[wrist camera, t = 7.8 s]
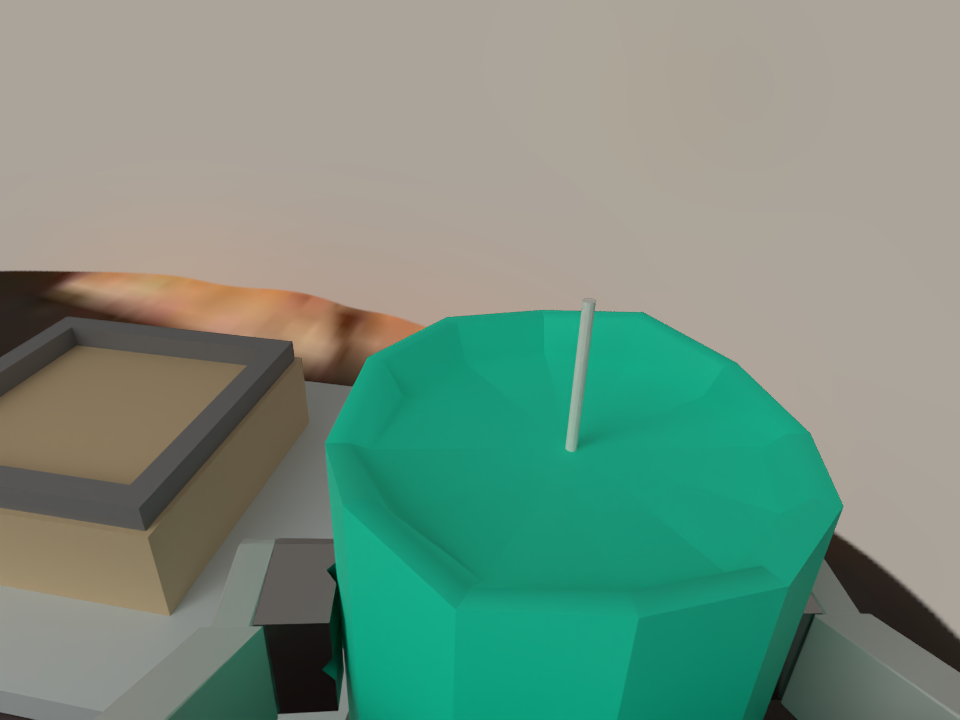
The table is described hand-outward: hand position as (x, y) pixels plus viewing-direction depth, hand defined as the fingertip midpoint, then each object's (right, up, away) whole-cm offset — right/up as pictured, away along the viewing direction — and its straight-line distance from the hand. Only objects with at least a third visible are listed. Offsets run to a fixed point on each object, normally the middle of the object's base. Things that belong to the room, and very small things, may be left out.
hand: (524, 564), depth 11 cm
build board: (-14, -2, +15) cm, 20 cm away
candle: (0, -7, +3) cm, 7 cm away
